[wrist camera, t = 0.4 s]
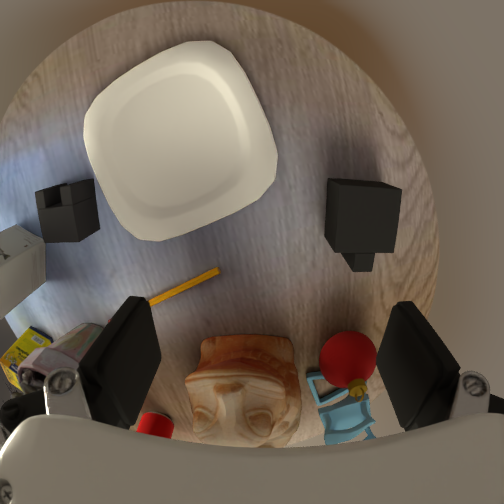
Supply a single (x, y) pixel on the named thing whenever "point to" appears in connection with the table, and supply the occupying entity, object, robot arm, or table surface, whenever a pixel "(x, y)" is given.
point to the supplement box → (22, 352)
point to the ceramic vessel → (245, 391)
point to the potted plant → (55, 357)
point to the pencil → (184, 286)
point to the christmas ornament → (348, 361)
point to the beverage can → (156, 425)
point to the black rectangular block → (361, 220)
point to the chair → (342, 414)
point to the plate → (180, 142)
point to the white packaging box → (20, 266)
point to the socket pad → (68, 211)
